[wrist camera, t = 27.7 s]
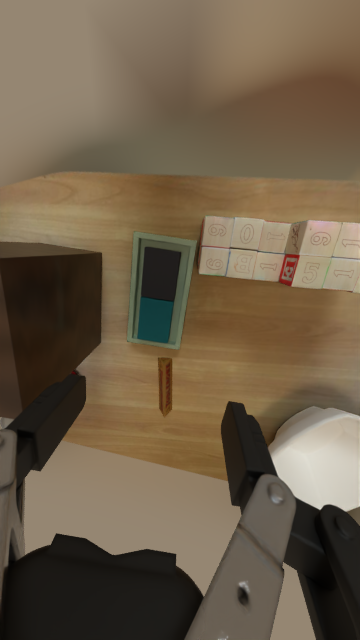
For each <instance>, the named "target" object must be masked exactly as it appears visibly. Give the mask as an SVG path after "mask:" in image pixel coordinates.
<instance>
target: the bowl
mask: <svg viewBox="0 0 360 640" xmlns="http://www.w3.org/2000/svg"><path fill="white" fill-rule="evenodd" d="M268 450H269V453H270V455H271V458H272V461H273V463H274V466H275V469H276V472H277V474H278V477H279V478H280V479H281V480H283V481H284V482H285V483H286V484H287V485H288V487H289V488H290V489H291V491H292V493H293V495H294V496H295V497H297V498H298V499H300V500H302V501H304V502H306V503H308V504H310V505H311V506H313V507H315V508H317V509H319V510H321V508H322V507H323V506H324V505H326V504H331V505H335V506H337V507H339V508H341V509H342V510H344V511H345V512H346V511H349V510H352V509H354V508H357V507H359V506H360V416H358V415H355V414H352V413H349V412H346V411H343V410H339V409H336V408H327V409H321V408H319V407H315V406H312V407H309V408H307V409H305V410H303V411H301V412H299V413H297V414H295V415H294V416H292V417H291V418H289V419H288V420H287V421H286V422H285V423H284V424H283V425H282V426H281V427H280V428H279V429H278V431H277V432H276V436H275V439H274V441H273V442H272V443H271V444H270V445H269V447H268Z"/></svg>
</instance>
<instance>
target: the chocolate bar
mask: <svg viewBox="0 0 360 640" xmlns="http://www.w3.org/2000/svg"><path fill="white" fill-rule="evenodd" d="M158 367H159V409H160V410H161V412H162V414H163V416H164V417H165V416H166V415H167V414H168V413H169V412H170V411H171V410H172V358H158Z"/></svg>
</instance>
